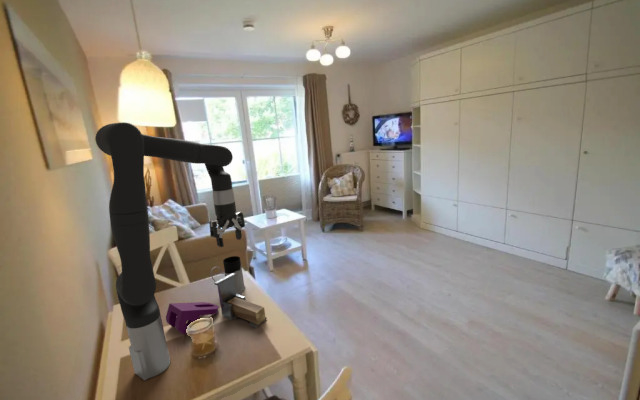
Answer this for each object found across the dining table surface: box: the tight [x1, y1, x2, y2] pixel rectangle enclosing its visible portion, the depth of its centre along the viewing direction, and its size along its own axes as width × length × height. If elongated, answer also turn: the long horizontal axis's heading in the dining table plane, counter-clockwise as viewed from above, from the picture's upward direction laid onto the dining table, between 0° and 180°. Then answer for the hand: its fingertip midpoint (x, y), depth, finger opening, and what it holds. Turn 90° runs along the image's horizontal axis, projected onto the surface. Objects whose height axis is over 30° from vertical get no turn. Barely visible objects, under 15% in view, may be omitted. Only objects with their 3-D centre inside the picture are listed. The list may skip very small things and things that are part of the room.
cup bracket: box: [214, 273, 247, 321], centre depth 123 cm, size 9×6×15 cm
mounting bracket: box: [165, 301, 220, 335], centre depth 120 cm, size 9×8×18 cm
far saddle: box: [249, 316, 268, 329], centre depth 117 cm, size 6×3×1 cm, turn 146°
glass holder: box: [210, 255, 246, 294], centre depth 140 cm, size 9×14×15 cm, turn 124°
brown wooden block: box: [228, 297, 267, 325], centre depth 119 cm, size 4×16×5 cm, turn 56°
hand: (230, 242), depth 117 cm, fingers open, 8 cm apart
